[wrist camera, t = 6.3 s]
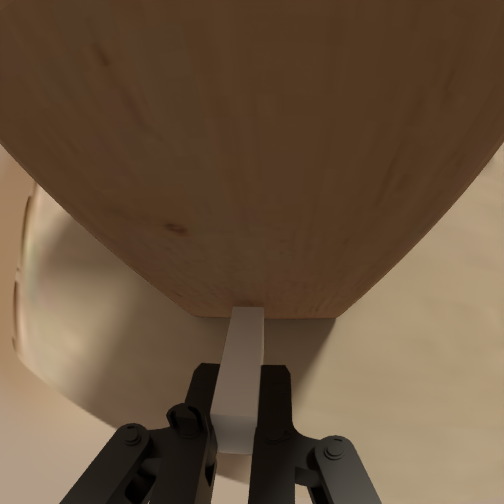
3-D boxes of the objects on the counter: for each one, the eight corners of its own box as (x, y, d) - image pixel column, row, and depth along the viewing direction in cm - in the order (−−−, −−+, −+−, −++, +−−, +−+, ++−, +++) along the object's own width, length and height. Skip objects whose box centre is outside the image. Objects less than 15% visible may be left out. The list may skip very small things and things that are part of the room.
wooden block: (190, 317, 20) (-81, 56, 1) (203, 190, 24) (120, -69, 5) (340, 319, 19) (587, 20, 1) (330, 190, 23) (382, -82, 4)
